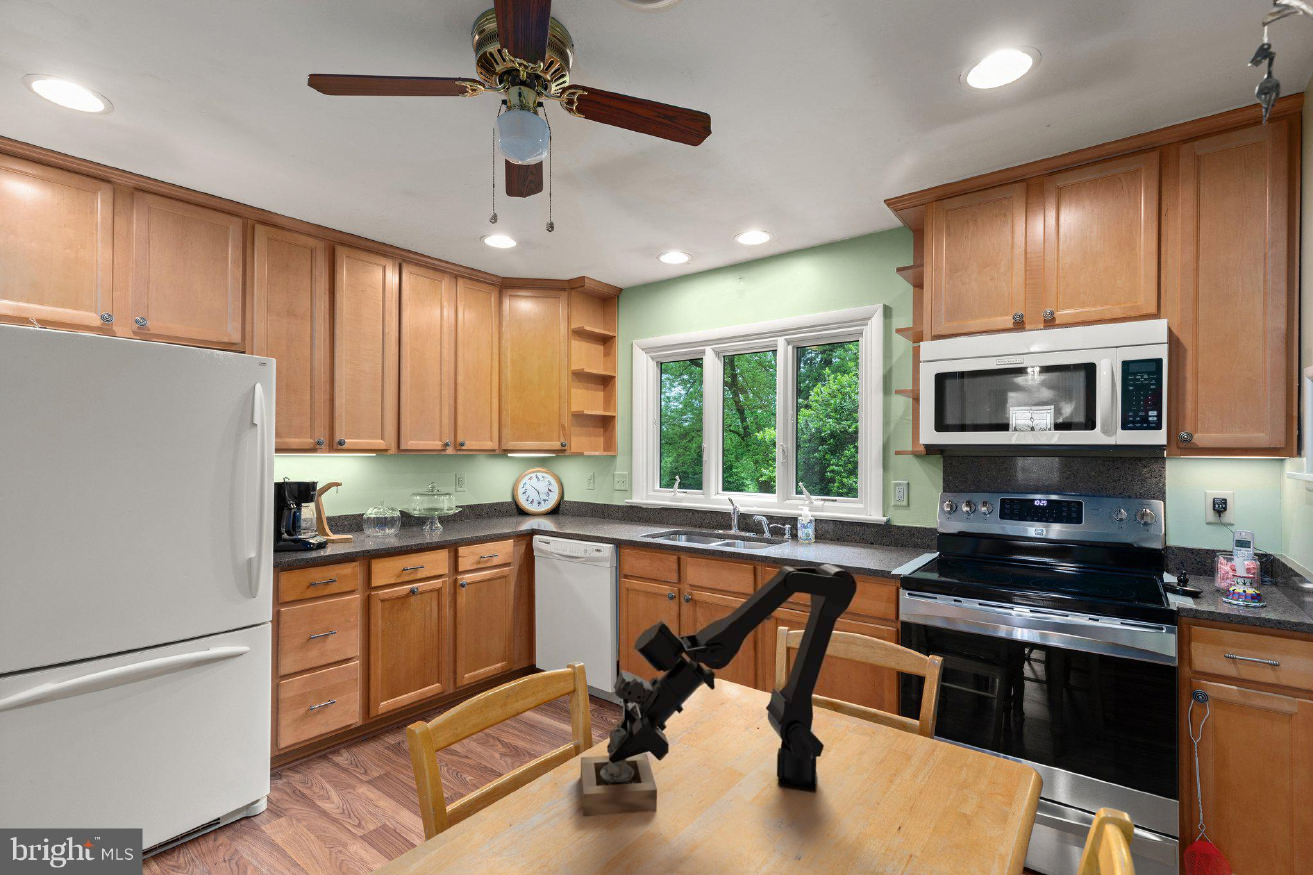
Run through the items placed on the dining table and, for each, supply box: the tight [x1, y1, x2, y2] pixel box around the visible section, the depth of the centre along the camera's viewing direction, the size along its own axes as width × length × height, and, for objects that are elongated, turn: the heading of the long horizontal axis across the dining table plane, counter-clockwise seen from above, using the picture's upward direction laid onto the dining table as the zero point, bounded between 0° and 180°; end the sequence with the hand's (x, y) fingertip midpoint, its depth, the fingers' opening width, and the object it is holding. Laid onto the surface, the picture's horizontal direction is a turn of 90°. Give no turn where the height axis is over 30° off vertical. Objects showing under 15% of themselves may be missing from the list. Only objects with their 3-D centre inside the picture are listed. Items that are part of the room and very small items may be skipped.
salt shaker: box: [600, 722, 634, 786], centre depth 109 cm, size 6×6×12 cm
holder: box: [580, 753, 658, 817], centre depth 108 cm, size 12×12×4 cm
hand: (609, 755), depth 108 cm, fingers closed on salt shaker, 4 cm apart
